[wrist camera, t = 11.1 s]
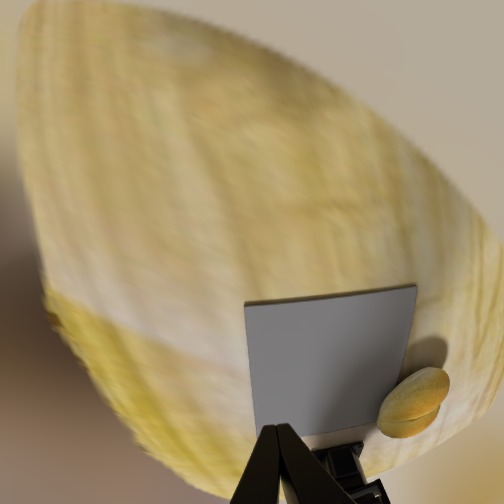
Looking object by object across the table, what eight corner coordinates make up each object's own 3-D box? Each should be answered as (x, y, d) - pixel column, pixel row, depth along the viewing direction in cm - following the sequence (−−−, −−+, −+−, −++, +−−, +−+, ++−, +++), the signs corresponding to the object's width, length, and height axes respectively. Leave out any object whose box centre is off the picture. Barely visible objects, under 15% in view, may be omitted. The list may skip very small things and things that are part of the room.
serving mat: (383, 417, 24) (384, 418, 24) (257, 439, 24) (257, 441, 23) (416, 285, 20) (417, 286, 20) (244, 305, 20) (244, 307, 19)
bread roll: (448, 352, 21) (470, 374, 18) (425, 407, 24) (440, 429, 20) (384, 378, 21) (404, 408, 17) (367, 431, 24) (380, 457, 20)
